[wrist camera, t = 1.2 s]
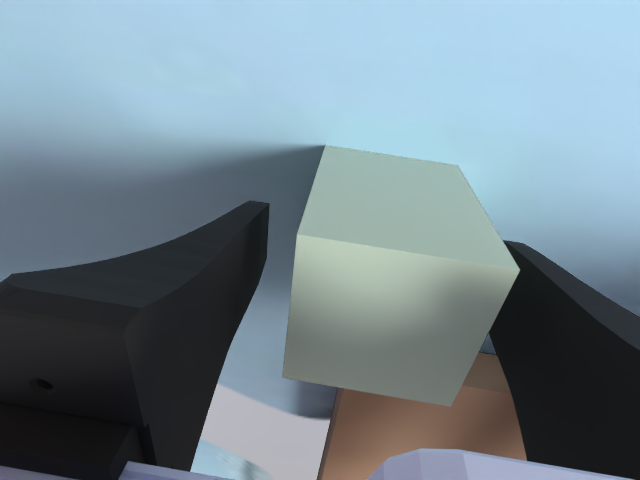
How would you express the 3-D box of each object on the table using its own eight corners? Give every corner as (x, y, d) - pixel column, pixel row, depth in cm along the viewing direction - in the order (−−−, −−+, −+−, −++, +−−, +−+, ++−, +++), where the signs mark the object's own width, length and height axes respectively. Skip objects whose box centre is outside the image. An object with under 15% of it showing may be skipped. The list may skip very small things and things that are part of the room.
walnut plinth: (664, 383, 16) (698, 425, 15) (531, 522, 24) (544, 561, 22) (351, 330, 17) (349, 366, 15) (315, 484, 24) (311, 519, 23)
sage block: (458, 165, 12) (520, 270, 7) (422, 272, 15) (451, 406, 10) (325, 144, 13) (296, 234, 8) (311, 253, 15) (282, 377, 10)
